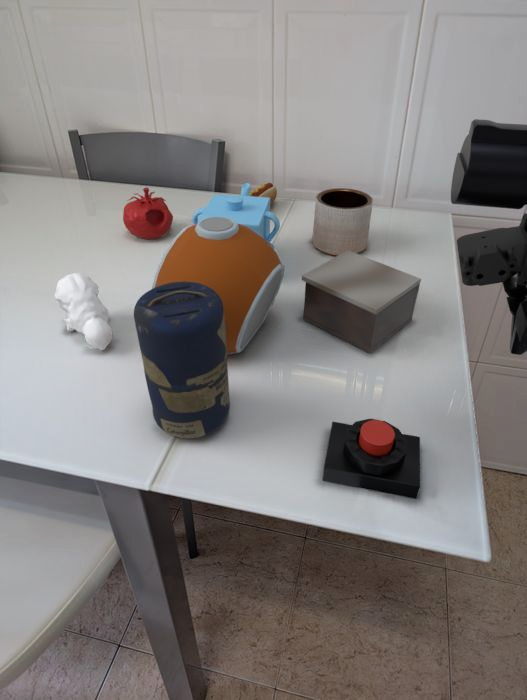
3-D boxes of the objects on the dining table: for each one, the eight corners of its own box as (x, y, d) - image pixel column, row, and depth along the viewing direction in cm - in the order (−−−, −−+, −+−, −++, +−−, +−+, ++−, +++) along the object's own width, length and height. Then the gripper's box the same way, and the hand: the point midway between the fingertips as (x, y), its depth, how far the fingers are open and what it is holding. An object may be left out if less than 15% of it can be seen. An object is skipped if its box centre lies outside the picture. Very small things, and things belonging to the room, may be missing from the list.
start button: (392, 434, 55) (395, 423, 54) (391, 459, 52) (394, 447, 51) (360, 428, 55) (362, 417, 54) (357, 452, 53) (359, 441, 51)
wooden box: (303, 319, 78) (305, 282, 74) (346, 291, 85) (351, 256, 81) (369, 354, 72) (376, 315, 67) (411, 321, 78) (420, 283, 74)
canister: (230, 443, 58) (223, 317, 47) (149, 446, 58) (122, 319, 47) (230, 388, 66) (224, 267, 55) (158, 390, 65) (137, 269, 54)
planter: (364, 234, 103) (371, 188, 97) (369, 258, 94) (376, 210, 88) (312, 231, 104) (315, 186, 98) (311, 256, 95) (315, 208, 89)
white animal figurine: (89, 262, 75) (119, 305, 67) (99, 307, 80) (128, 351, 73) (46, 274, 72) (73, 320, 65) (59, 320, 78) (85, 366, 70)
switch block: (416, 449, 58) (423, 425, 55) (416, 499, 52) (424, 475, 50) (330, 434, 59) (333, 410, 57) (322, 480, 54) (325, 456, 52)
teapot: (274, 285, 86) (275, 215, 78) (187, 278, 88) (180, 209, 80) (286, 240, 100) (288, 177, 92) (211, 235, 102) (207, 172, 94)
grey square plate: (301, 280, 75) (301, 275, 74) (347, 254, 81) (347, 250, 81) (376, 314, 67) (377, 309, 67) (420, 283, 74) (421, 278, 73)
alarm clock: (201, 288, 86) (193, 189, 75) (296, 310, 80) (302, 207, 70) (138, 351, 72) (116, 241, 61) (247, 383, 66) (245, 269, 56)
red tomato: (116, 239, 101) (107, 194, 95) (142, 220, 108) (136, 177, 102) (159, 247, 98) (153, 201, 92) (183, 227, 105) (178, 183, 100)
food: (250, 224, 106) (250, 202, 103) (229, 219, 108) (228, 197, 105) (281, 203, 116) (281, 182, 113) (260, 198, 118) (260, 177, 115)
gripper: (467, 169, 52) (434, 297, 61) (486, 249, 37) (439, 398, 47) (583, 178, 50) (530, 309, 59) (650, 266, 35) (566, 419, 45)
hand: (515, 352), depth 53 cm, fingers closed
